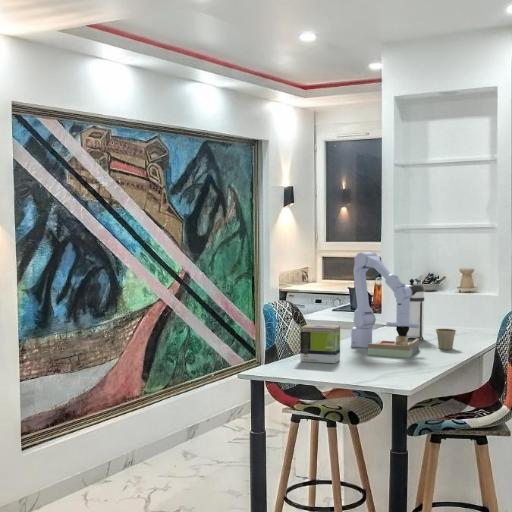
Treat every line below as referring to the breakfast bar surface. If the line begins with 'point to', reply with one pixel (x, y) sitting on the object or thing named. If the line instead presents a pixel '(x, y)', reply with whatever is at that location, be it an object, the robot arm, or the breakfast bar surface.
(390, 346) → the box
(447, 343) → the flower pot
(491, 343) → the breakfast bar surface
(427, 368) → the breakfast bar surface
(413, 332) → the coffee press
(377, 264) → the robot arm
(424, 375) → the breakfast bar surface
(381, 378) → the breakfast bar surface
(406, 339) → the maple block
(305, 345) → the tea box
